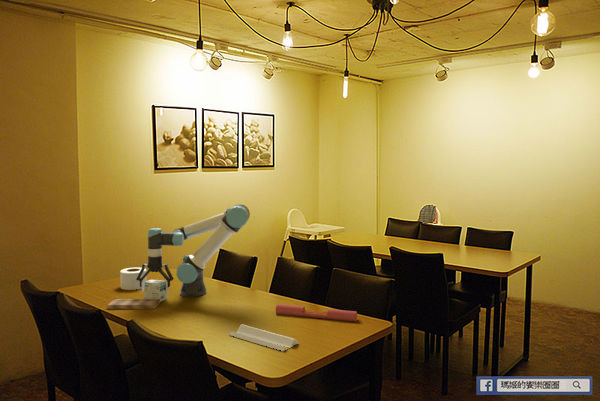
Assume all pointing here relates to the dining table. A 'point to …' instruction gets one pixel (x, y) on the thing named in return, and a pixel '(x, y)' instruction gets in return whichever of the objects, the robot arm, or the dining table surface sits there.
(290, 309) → the blood vessel
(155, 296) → the light bulb box
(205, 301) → the dining table surface
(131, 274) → the toilet paper roll
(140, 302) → the walnut board
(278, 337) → the crown molding
